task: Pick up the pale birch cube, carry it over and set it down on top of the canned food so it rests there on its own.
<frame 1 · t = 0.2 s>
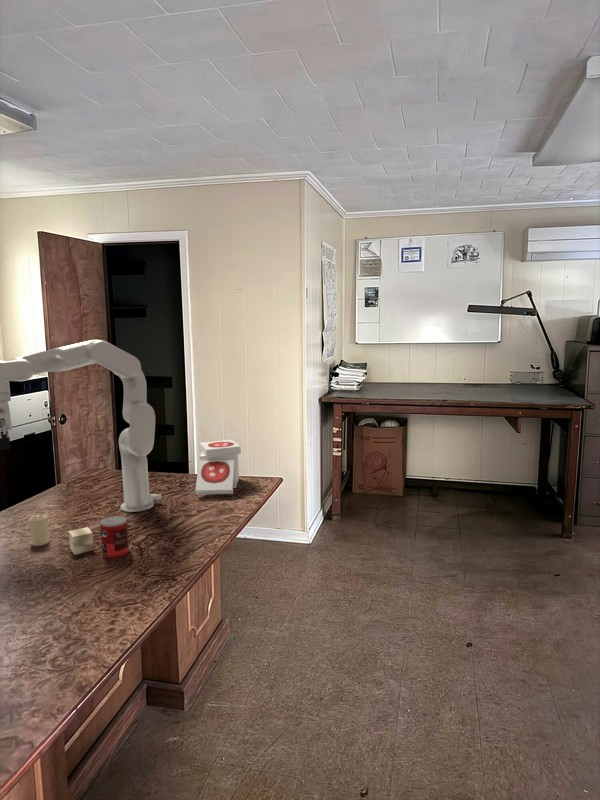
hand: (3, 446, 197), 31 cm above the table, fingers open, 9 cm apart
birch block: (81, 549, 186), on the table
canned food: (115, 554, 182), on the table
candle: (40, 543, 192), on the table
pizza boxes: (219, 488, 249), on the table
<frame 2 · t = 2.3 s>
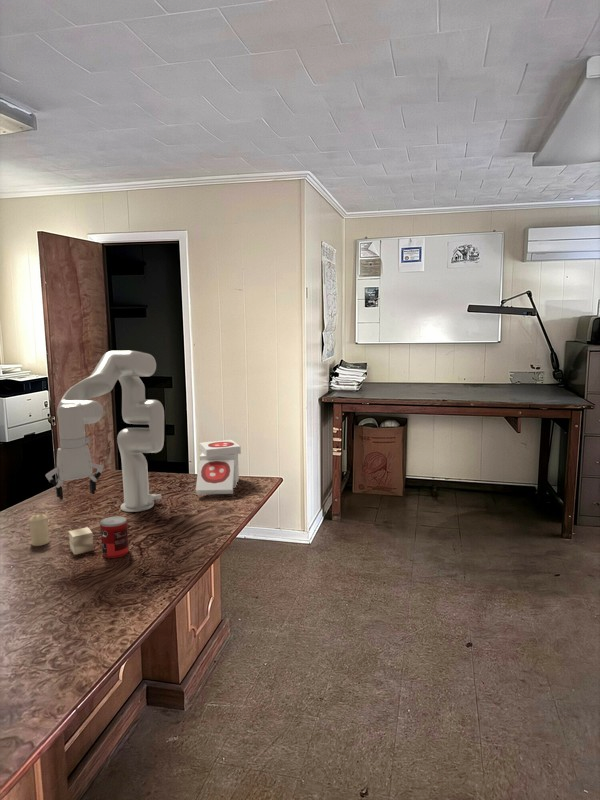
hand: (76, 495, 183), 18 cm above the table, fingers open, 9 cm apart
nothing on the table moved.
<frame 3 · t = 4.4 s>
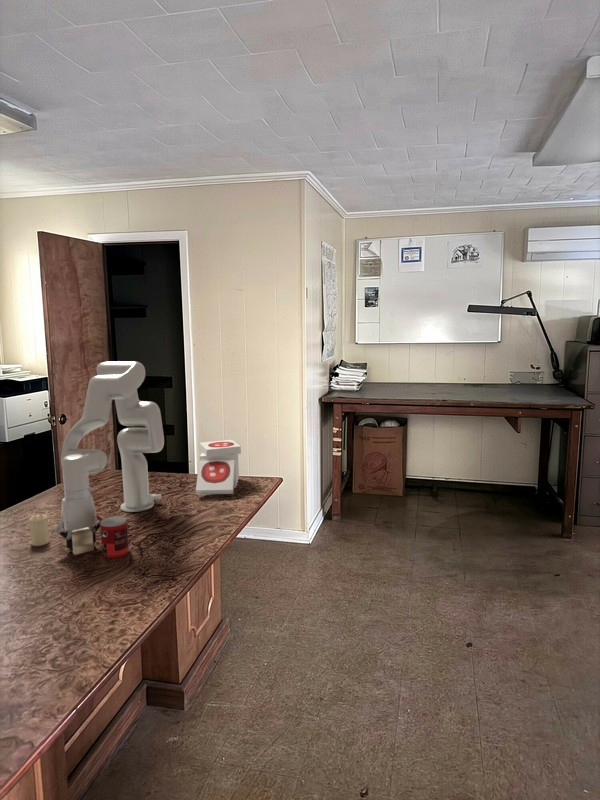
hand: (81, 546, 186), 1 cm above the table, fingers closed on birch block, 6 cm apart
birch block: (81, 549, 186), on the table, touching gripper
everything else where it was.
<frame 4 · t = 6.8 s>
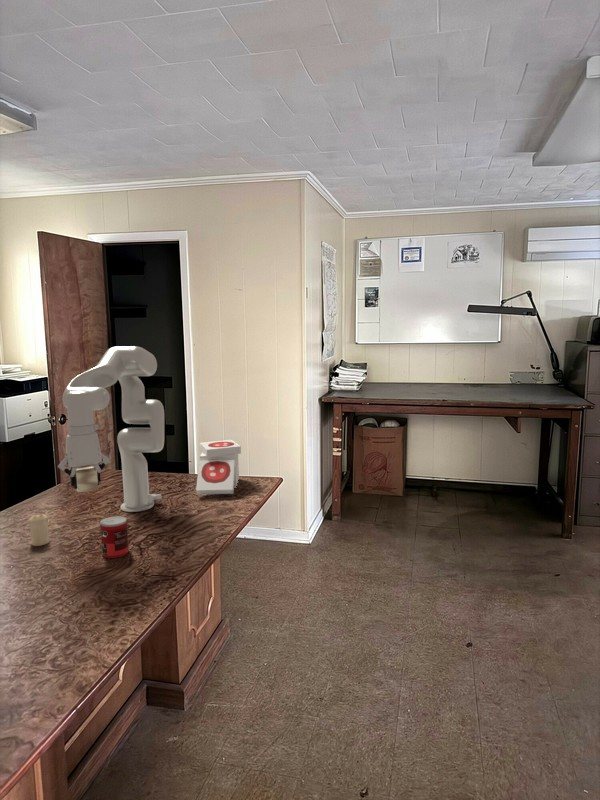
hand: (86, 485, 182), 22 cm above the table, fingers closed on birch block, 6 cm apart
birch block: (86, 488, 182), point 21 cm above the table, touching gripper
everything else where it was.
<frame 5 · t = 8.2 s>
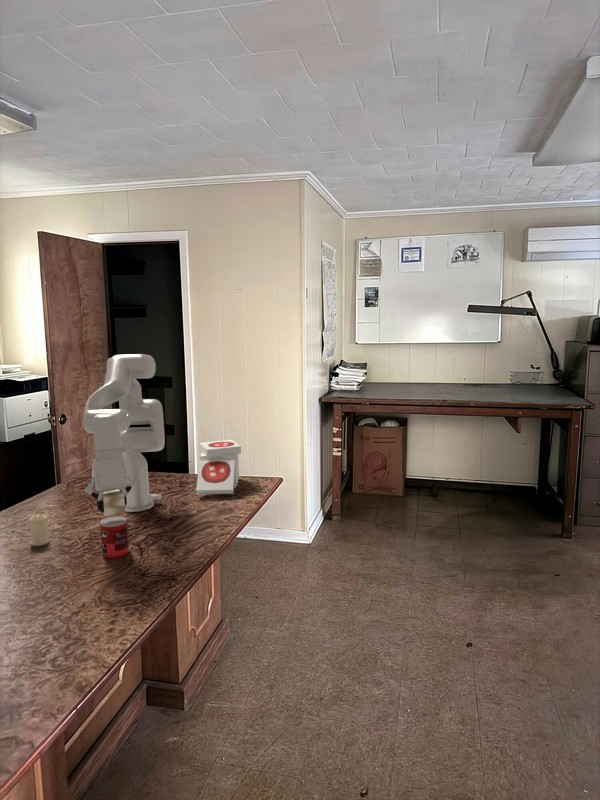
hand: (112, 509, 180), 15 cm above the table, fingers closed on birch block, 6 cm apart
birch block: (112, 511, 180), point 14 cm above the table, touching gripper
everything else where it was.
when the fingers open (12 cm above the table, at t = 9.3 s): birch block stays where it is, resting on canned food.
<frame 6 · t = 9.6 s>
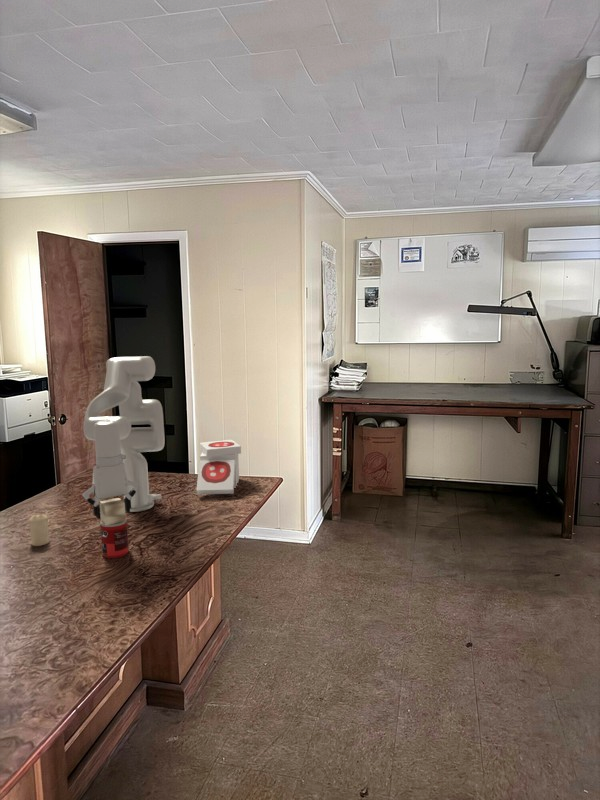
hand: (112, 514, 180), 13 cm above the table, fingers open, 8 cm apart
birch block: (113, 520, 181), point 11 cm above the table, touching canned food
canned food: (115, 554, 182), on the table, touching birch block
everything else where it was.
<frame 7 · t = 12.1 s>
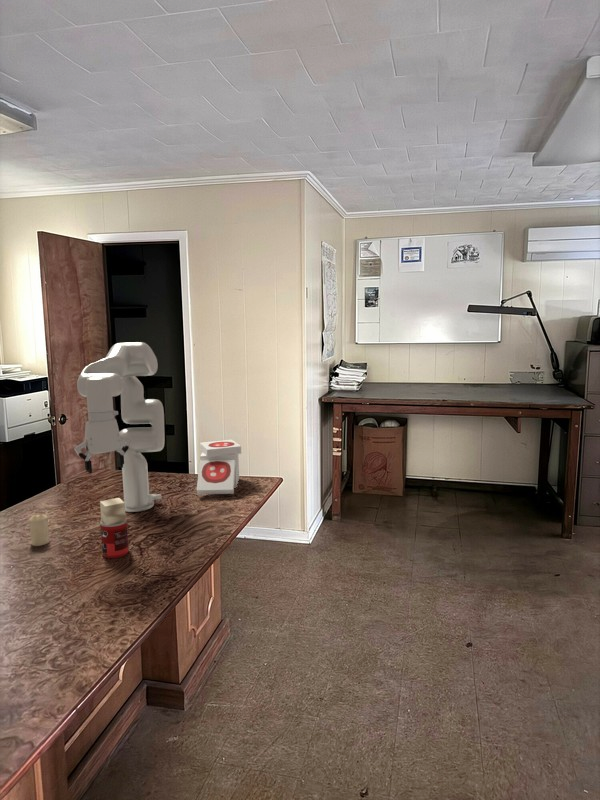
hand: (105, 469, 182), 26 cm above the table, fingers open, 9 cm apart
nothing on the table moved.
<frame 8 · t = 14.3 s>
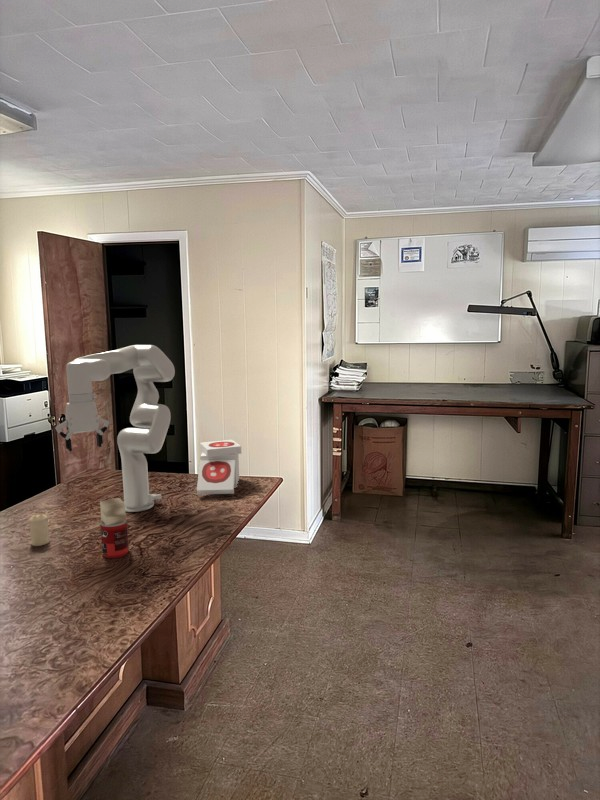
hand: (84, 448, 195), 30 cm above the table, fingers open, 9 cm apart
nothing on the table moved.
at the end: birch block inside the target area in the canned food (0.1 cm from its centre), point 11.2 cm above the canned food's base; birch block tilted 0°; birch block touching canned food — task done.
